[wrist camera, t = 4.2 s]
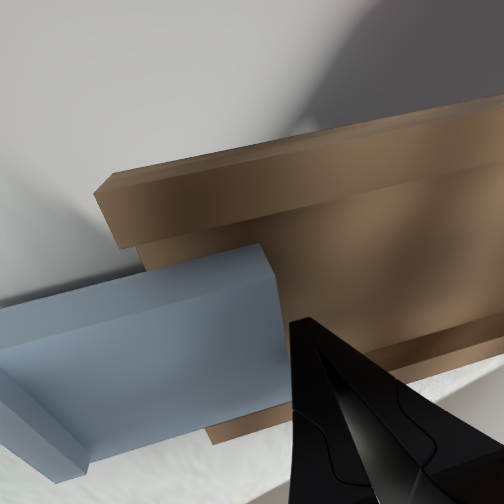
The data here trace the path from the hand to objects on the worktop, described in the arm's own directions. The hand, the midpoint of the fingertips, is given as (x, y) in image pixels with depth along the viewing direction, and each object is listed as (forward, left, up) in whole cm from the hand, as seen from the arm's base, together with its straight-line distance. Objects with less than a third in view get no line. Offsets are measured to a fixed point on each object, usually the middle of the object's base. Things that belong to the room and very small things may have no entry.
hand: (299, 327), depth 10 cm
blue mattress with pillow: (+5, 0, -1) cm, 5 cm away
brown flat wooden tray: (-6, 0, -2) cm, 6 cm away
